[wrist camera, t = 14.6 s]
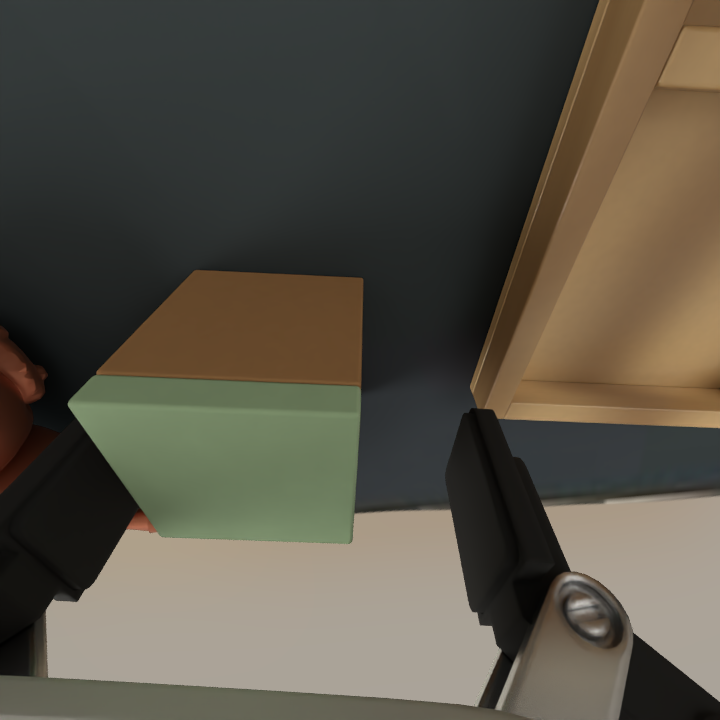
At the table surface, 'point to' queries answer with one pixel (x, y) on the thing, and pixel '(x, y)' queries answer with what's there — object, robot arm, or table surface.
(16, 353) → the heart
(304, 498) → the pad sage
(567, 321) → the wooden divided tray
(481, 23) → the table surface
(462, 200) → the table surface
